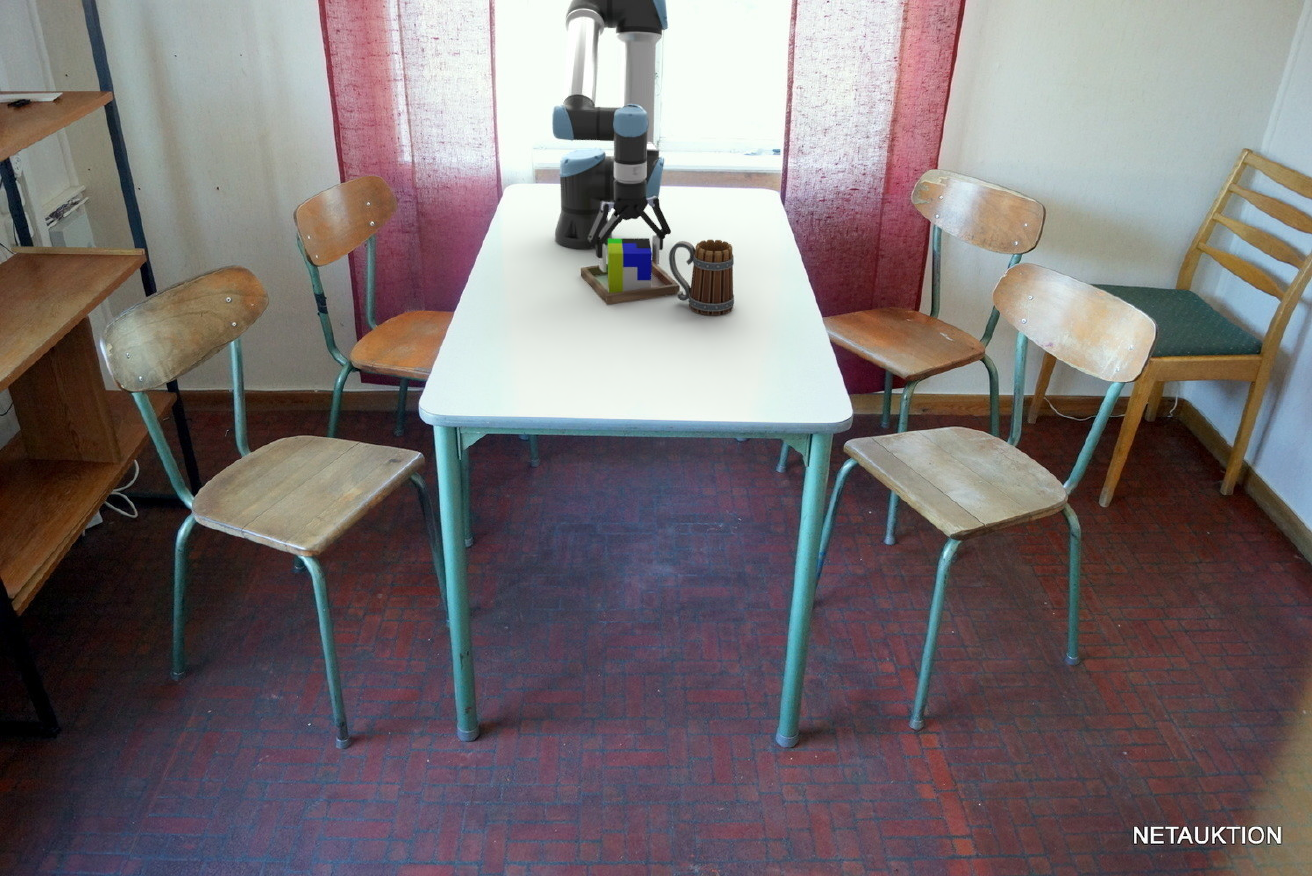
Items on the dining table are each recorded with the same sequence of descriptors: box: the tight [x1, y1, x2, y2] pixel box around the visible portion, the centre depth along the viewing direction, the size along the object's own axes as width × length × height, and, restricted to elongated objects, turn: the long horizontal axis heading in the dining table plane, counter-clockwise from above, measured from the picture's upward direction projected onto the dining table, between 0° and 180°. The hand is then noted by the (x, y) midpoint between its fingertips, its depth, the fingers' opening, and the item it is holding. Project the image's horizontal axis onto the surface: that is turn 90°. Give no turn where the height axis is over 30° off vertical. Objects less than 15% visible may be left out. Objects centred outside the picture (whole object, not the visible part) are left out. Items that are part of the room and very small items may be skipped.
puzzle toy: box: [607, 237, 652, 293], centre depth 244 cm, size 10×10×10 cm
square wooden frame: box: [580, 261, 681, 306], centre depth 246 cm, size 18×18×2 cm
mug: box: [668, 239, 735, 317], centre depth 233 cm, size 16×11×15 cm
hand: (629, 266), depth 244 cm, fingers open, 13 cm apart
